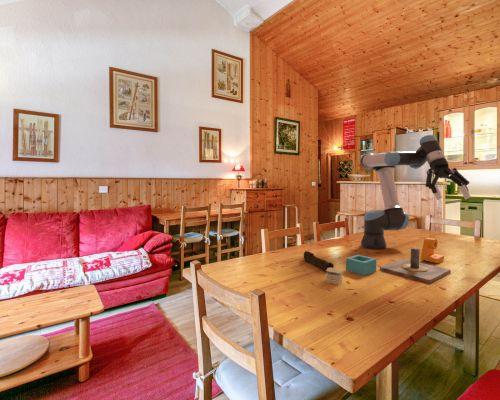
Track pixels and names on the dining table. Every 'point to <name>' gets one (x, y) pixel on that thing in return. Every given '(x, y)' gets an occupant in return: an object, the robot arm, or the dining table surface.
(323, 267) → the hand tool
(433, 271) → the post base
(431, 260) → the bracket
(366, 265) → the collar
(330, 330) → the dining table surface
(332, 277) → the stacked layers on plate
